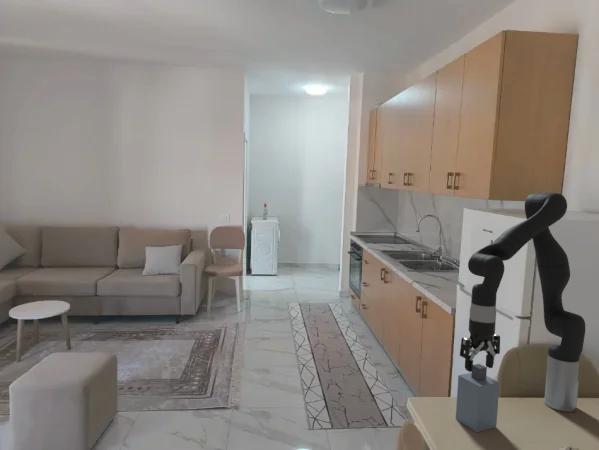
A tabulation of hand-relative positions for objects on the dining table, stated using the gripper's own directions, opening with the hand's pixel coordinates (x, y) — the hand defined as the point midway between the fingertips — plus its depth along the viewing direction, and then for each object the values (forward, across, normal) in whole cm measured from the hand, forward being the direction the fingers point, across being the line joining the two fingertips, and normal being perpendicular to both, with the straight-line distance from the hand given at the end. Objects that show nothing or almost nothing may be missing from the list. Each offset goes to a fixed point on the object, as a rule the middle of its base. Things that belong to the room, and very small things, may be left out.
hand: (479, 369), depth 132 cm
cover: (+18, 0, 0) cm, 18 cm away
